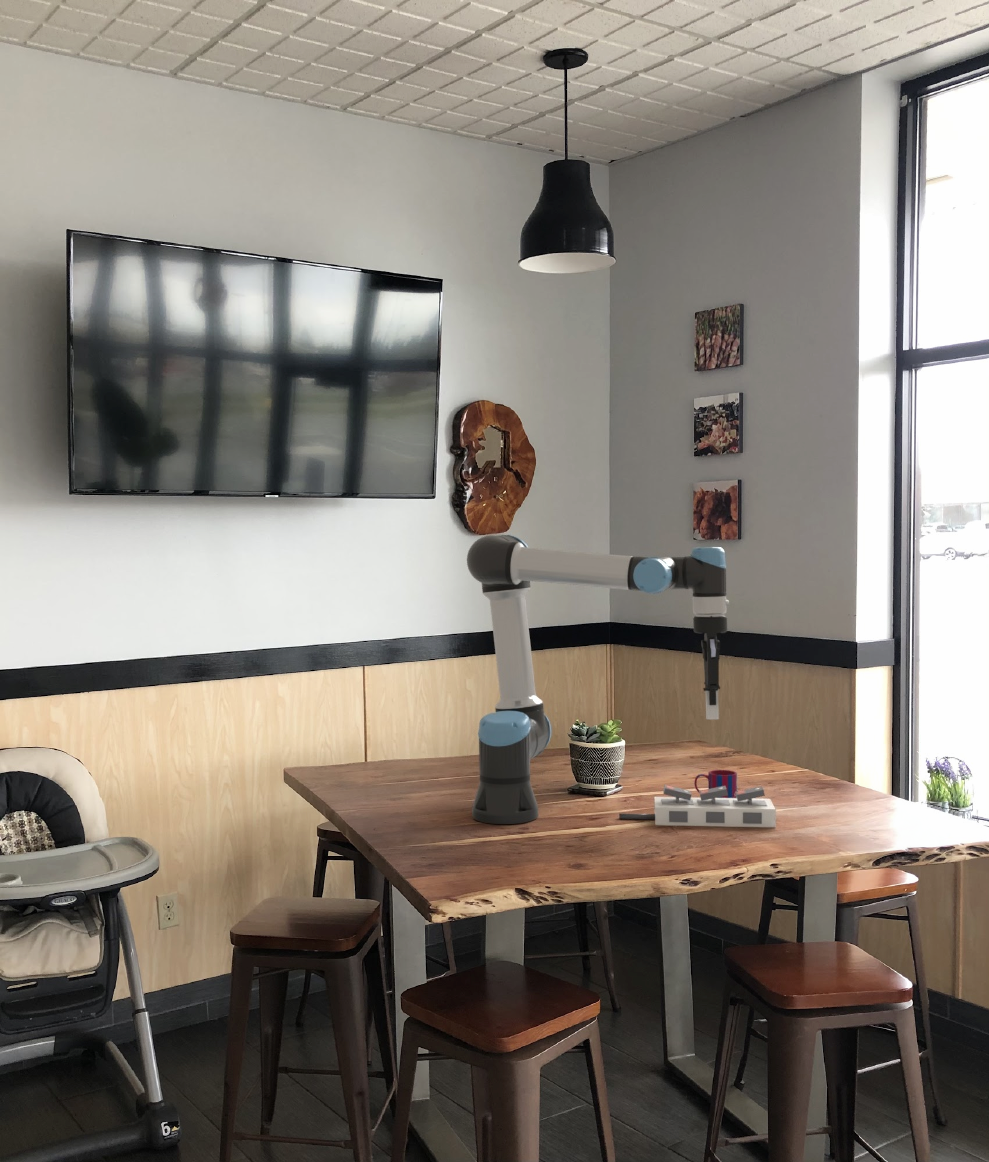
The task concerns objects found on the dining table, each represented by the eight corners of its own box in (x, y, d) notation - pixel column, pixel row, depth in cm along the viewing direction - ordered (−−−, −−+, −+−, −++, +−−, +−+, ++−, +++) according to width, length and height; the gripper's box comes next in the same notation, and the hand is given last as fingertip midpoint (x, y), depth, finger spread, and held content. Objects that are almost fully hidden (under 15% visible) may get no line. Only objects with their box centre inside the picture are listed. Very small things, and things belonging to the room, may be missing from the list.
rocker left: (663, 794, 251) (665, 787, 251) (663, 790, 255) (664, 784, 255) (690, 800, 251) (691, 794, 250) (689, 796, 254) (690, 790, 254)
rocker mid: (701, 800, 250) (699, 794, 250) (700, 797, 254) (698, 790, 254) (728, 795, 250) (726, 788, 250) (726, 791, 253) (725, 785, 253)
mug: (736, 804, 267) (736, 775, 267) (693, 802, 269) (693, 774, 269) (737, 798, 274) (737, 770, 273) (695, 796, 276) (695, 768, 276)
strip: (619, 824, 249) (618, 800, 249) (619, 813, 259) (619, 790, 259) (775, 827, 245) (775, 803, 245) (769, 816, 255) (769, 793, 255)
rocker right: (738, 801, 249) (736, 795, 249) (736, 797, 253) (734, 791, 253) (764, 795, 249) (763, 789, 249) (762, 792, 252) (761, 785, 252)
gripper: (729, 616, 247) (732, 723, 248) (723, 612, 260) (726, 714, 261) (695, 617, 248) (698, 723, 249) (691, 613, 261) (693, 714, 262)
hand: (712, 718), depth 255 cm, fingers closed
